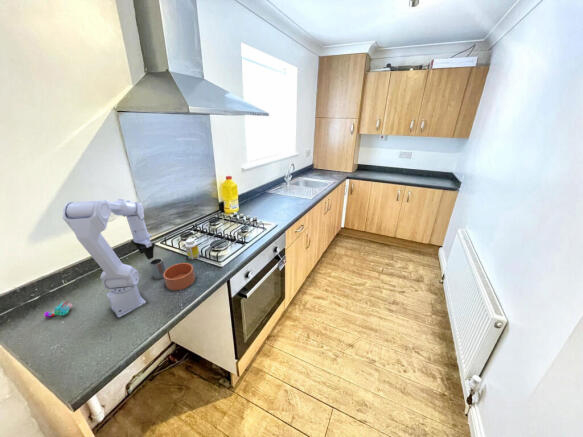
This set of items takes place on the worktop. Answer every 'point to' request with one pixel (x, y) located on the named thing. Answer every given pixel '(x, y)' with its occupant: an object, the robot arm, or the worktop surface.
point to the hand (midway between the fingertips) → (146, 255)
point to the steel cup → (157, 268)
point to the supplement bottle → (192, 248)
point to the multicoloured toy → (63, 310)
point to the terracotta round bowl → (179, 276)
